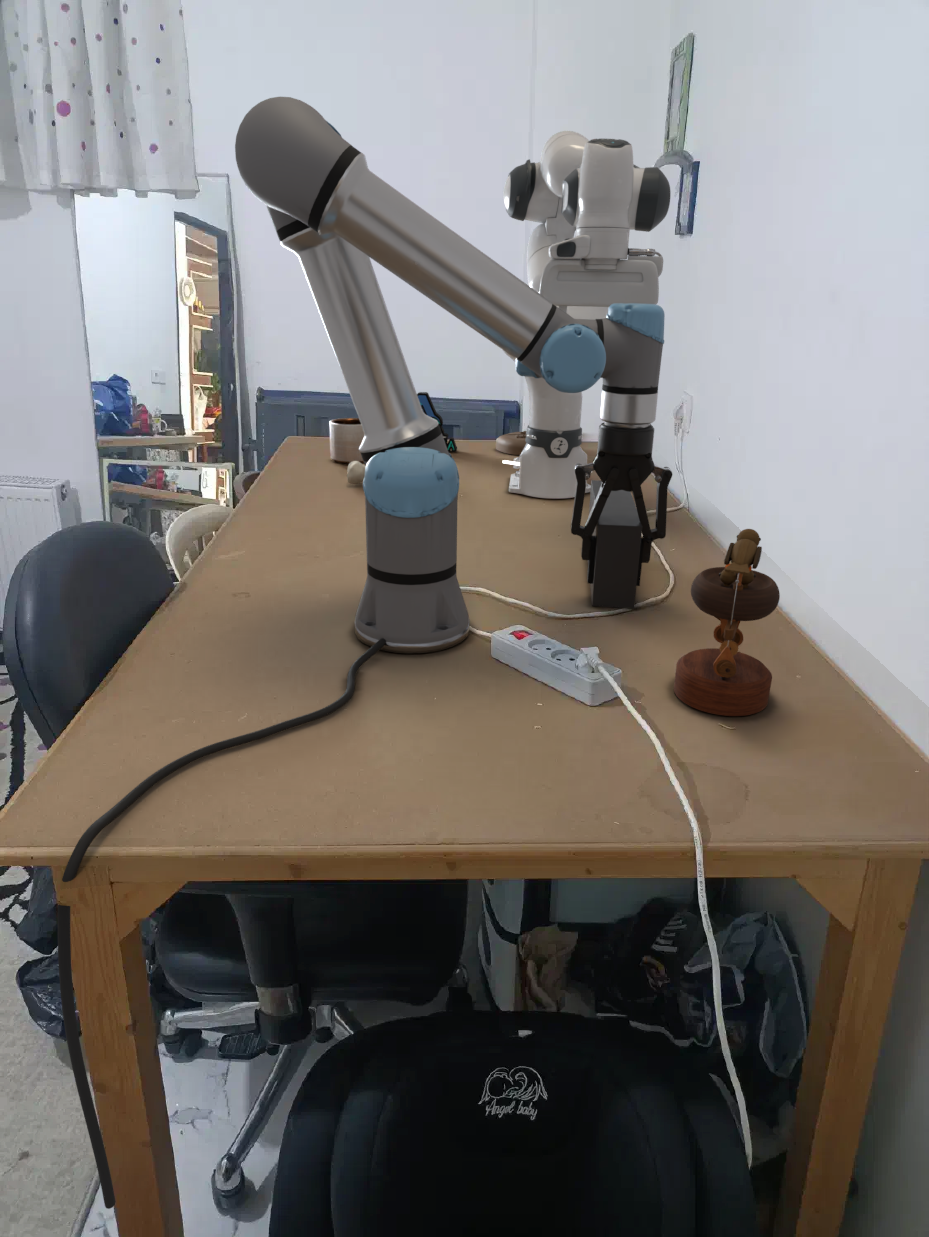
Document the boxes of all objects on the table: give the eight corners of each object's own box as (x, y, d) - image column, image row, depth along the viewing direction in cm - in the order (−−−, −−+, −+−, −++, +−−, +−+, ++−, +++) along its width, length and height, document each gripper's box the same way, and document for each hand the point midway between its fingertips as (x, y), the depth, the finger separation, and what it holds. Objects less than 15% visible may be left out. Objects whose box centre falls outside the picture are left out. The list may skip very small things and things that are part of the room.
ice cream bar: (502, 465, 211) (502, 448, 209) (493, 443, 237) (494, 428, 235) (586, 465, 212) (587, 448, 210) (568, 444, 238) (569, 429, 236)
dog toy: (434, 479, 195) (434, 457, 194) (437, 485, 190) (437, 463, 188) (346, 480, 192) (345, 459, 190) (347, 487, 187) (346, 464, 185)
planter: (327, 456, 217) (325, 418, 214) (369, 454, 220) (368, 417, 217) (334, 465, 208) (332, 425, 204) (377, 463, 211) (376, 424, 207)
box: (634, 608, 122) (642, 526, 117) (592, 606, 123) (598, 524, 118) (621, 550, 148) (627, 481, 143) (586, 549, 148) (591, 480, 143)
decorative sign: (457, 450, 228) (457, 393, 222) (456, 451, 225) (457, 394, 220) (387, 448, 229) (386, 391, 223) (386, 449, 226) (384, 392, 221)
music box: (786, 726, 90) (801, 547, 83) (681, 727, 92) (686, 551, 84) (757, 665, 104) (767, 507, 97) (666, 666, 106) (669, 511, 98)
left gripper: (693, 421, 119) (675, 576, 127) (557, 416, 120) (548, 570, 129) (702, 430, 112) (682, 593, 120) (557, 425, 113) (548, 587, 122)
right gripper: (662, 249, 143) (654, 335, 149) (541, 247, 145) (537, 332, 150) (666, 248, 138) (658, 337, 143) (540, 246, 139) (536, 334, 145)
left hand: (613, 581), depth 125 cm, fingers closed on box, 6 cm apart
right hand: (595, 335), depth 147 cm, fingers open, 8 cm apart
